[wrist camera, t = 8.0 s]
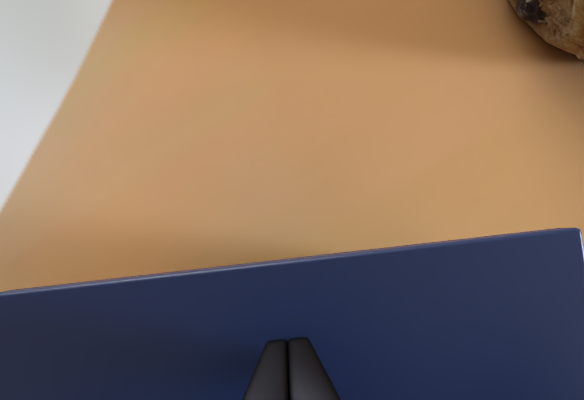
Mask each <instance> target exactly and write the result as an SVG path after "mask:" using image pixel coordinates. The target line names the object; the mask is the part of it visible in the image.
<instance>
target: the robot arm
mask: <svg viewBox="0 0 584 400" xmlns="http://www.w3.org/2000/svg"><path fill="white" fill-rule="evenodd" d="M242 400H341V398H340V396H339V395H338V393H337V391H336V389H335V387H334V385H333V383H332V381H331V379H330V377H329V376H328V374H327V372H326V370H325V368H324V366H323V364H322V362H321V360H320V358H319V356H318V355H317V353H316V351H315V349H314V347H313V345H312V343H311V341H310V340H309V338H308V337H296V338H290V339H289V340H288V341H287V340H286V339H277V340H269V341H268V342H267V343H266V344H265V346H264V349H263V351H262V353H261V356H260V358H259V361H258V363H257V365H256V368H255V370H254V373H253V375H252V377H251V380H250V382H249V385H248V387H247V389H246V392H245V394H244V397H243V399H242Z"/></svg>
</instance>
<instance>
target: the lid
mask: <svg viewBox="0 0 584 400" xmlns="http://www.w3.org/2000/svg"><path fill="white" fill-rule="evenodd" d="M296 337H308V338H309V340H310V341H311V343H312V345H313V347H314V349H315V351H316V353H317V355H318V356H319V358H320V360H321V362H322V364H323V366H324V368H325V370H326V372H327V374H328V376H329V377H330V379H331V381H332V383H333V385H334V387H335V389H336V391H337V393H338V395H339V396H340V398H341V400H584V247H583V240H582V234H581V231H580V229H578V228H555V229H546V230H537V231H529V232H520V233H511V234H502V235H493V236H484V237H476V238H467V239H458V240H449V241H440V242H432V243H423V244H414V245H405V246H396V247H387V248H379V249H370V250H361V251H352V252H343V253H334V254H326V255H317V256H308V257H299V258H290V259H281V260H273V261H264V262H255V263H246V264H237V265H228V266H220V267H211V268H202V269H193V270H184V271H175V272H167V273H158V274H149V275H140V276H131V277H123V278H114V279H105V280H96V281H87V282H78V283H70V284H61V285H52V286H43V287H34V288H25V289H17V290H9V291H4V292H0V400H242V399H243V397H244V394H245V392H246V389H247V387H248V385H249V382H250V380H251V377H252V375H253V373H254V370H255V368H256V365H257V363H258V361H259V358H260V356H261V353H262V351H263V349H264V346H265V344H266V343H267V342H268V341H269V340H277V339H286V340H287V341H288V340H289V339H290V338H296Z"/></svg>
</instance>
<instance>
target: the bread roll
mask: <svg viewBox="0 0 584 400" xmlns="http://www.w3.org/2000/svg"><path fill="white" fill-rule="evenodd" d="M507 1H508V2H509V3H510V4H511V5H512V6H513V8H514V9H515V11H516V14H517V15H519V17H520V19H522V20H523V21H525V22H527V23H528V24H529V26H530V27H531V28H532V29H533V30H534V31H535V32H536V33H537V34H538V35H539V36H540V37H541V38H543V39H544V40H545V41H546V42H547V43H549V44H551V45H553V46H555V47H557V48H560V49H562V50H564V51H566V52H569V53H572V54H575V55H576V56H577V58H578V59H581V60H583V61H584V0H507Z"/></svg>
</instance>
